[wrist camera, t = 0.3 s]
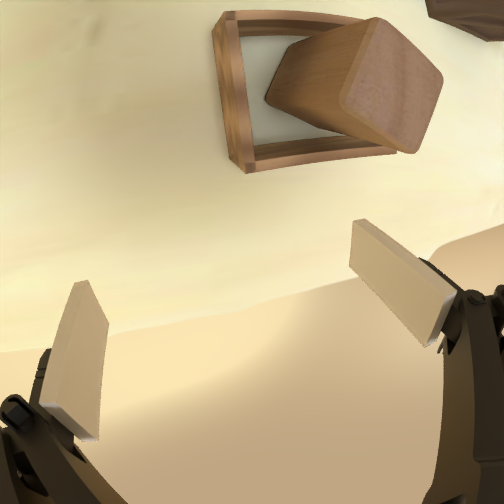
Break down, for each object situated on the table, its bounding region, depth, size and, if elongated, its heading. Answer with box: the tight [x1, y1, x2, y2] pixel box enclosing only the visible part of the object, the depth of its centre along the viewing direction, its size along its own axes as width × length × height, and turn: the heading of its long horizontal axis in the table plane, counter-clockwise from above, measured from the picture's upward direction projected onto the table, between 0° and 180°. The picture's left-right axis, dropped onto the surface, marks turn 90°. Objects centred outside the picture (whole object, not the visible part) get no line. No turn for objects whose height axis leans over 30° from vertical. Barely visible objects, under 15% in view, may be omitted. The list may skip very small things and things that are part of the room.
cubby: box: [212, 10, 397, 174], centre depth 31 cm, size 18×21×9 cm
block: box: [266, 17, 443, 154], centre depth 27 cm, size 10×10×20 cm
